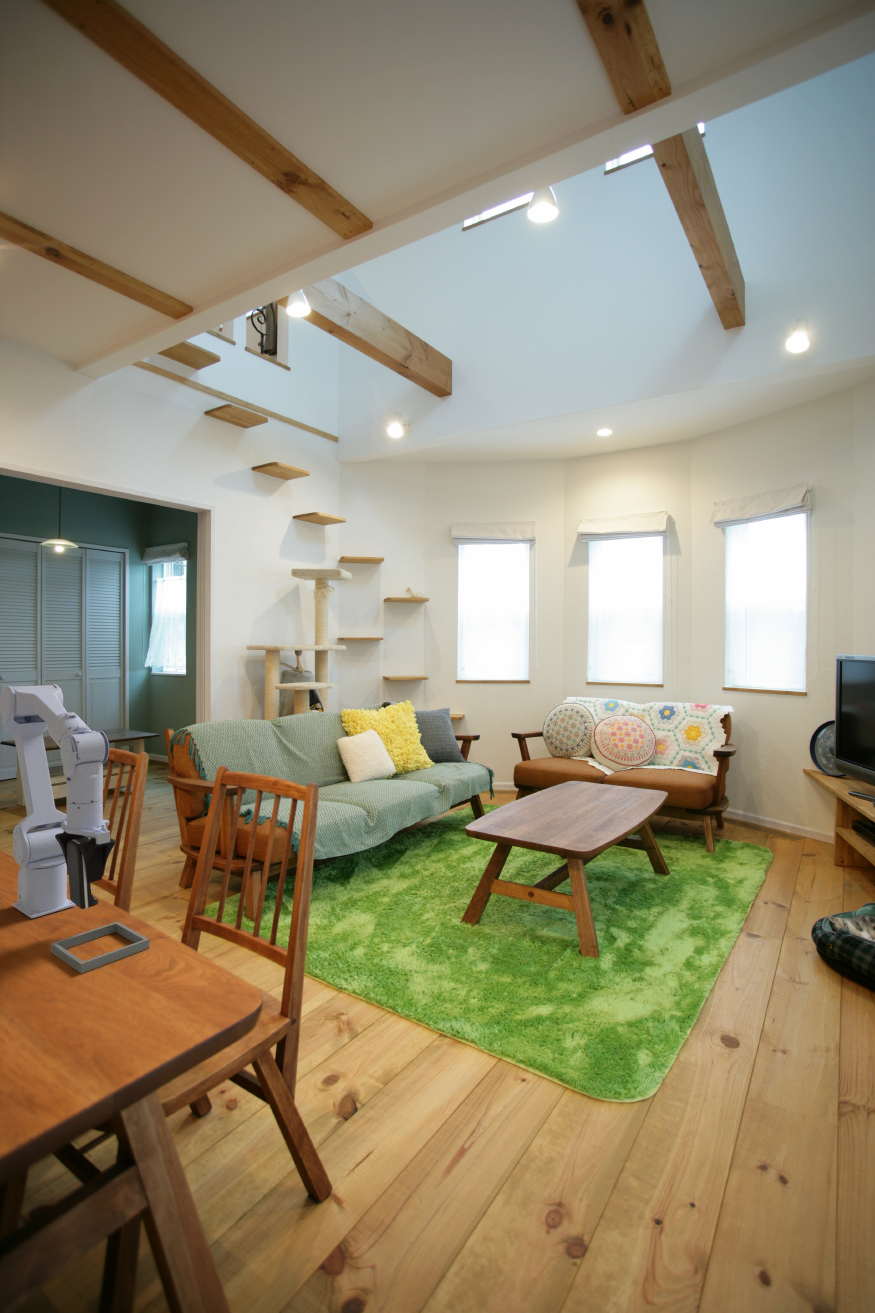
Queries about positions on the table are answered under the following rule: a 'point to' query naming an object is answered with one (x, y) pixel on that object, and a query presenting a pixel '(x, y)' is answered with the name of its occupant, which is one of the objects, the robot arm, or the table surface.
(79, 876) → the battery charger
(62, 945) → the holder frame
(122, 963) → the table surface
